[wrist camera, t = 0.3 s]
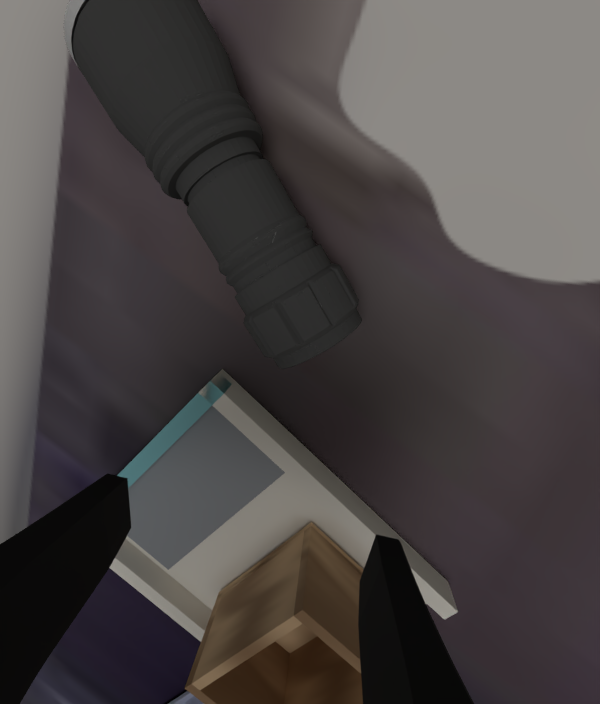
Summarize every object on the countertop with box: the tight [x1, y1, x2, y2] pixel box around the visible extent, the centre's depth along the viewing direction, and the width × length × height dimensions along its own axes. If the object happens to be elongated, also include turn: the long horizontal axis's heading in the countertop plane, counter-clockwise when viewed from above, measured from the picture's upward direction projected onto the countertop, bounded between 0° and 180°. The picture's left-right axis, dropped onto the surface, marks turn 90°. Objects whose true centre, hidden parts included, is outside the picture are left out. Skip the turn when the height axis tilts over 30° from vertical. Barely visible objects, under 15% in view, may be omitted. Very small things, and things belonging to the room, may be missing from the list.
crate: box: [185, 522, 363, 704], centre depth 20 cm, size 9×7×6 cm
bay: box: [109, 369, 458, 642], centre depth 22 cm, size 15×20×2 cm
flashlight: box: [64, 0, 362, 369], centre depth 15 cm, size 15×5×5 cm, turn 31°
